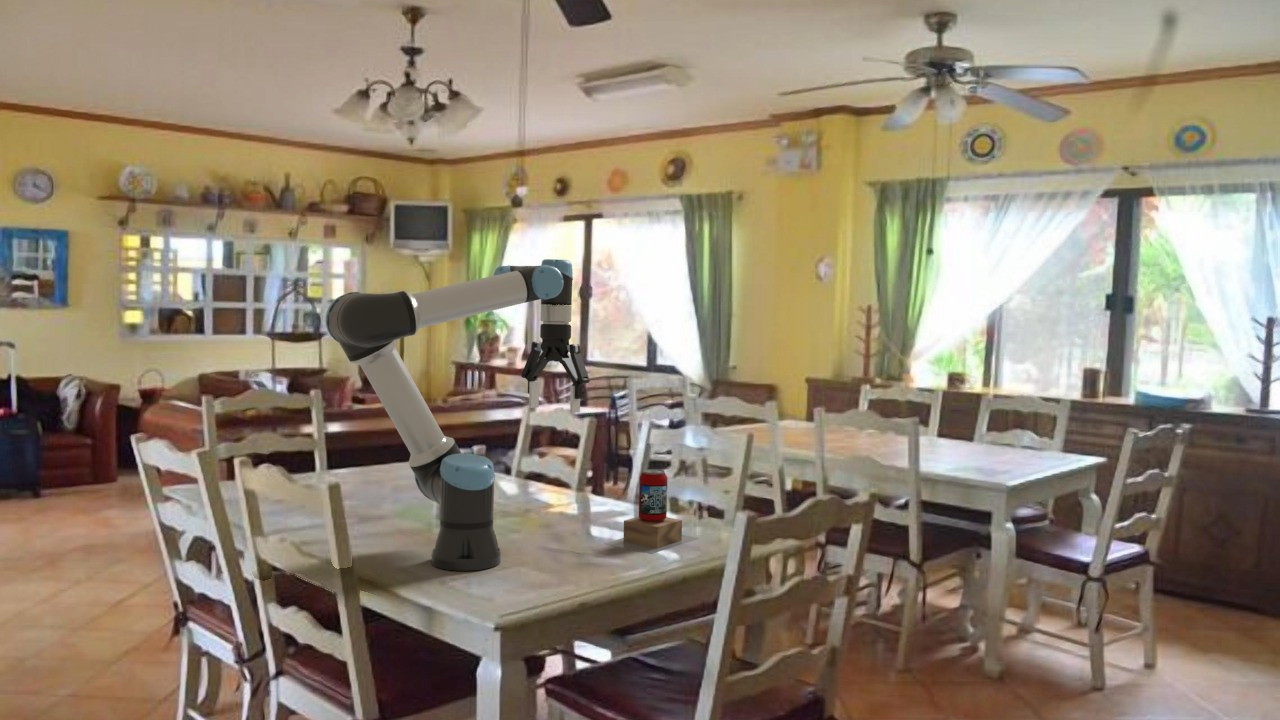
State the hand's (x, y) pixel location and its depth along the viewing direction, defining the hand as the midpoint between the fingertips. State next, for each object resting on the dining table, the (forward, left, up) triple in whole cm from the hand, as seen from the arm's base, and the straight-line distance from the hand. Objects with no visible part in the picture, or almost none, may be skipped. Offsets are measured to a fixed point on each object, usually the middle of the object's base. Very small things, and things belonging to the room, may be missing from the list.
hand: (554, 410), depth 248 cm
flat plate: (+10, -24, -32) cm, 41 cm away
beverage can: (+10, -23, -26) cm, 36 cm away
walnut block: (+10, -24, -30) cm, 40 cm away
